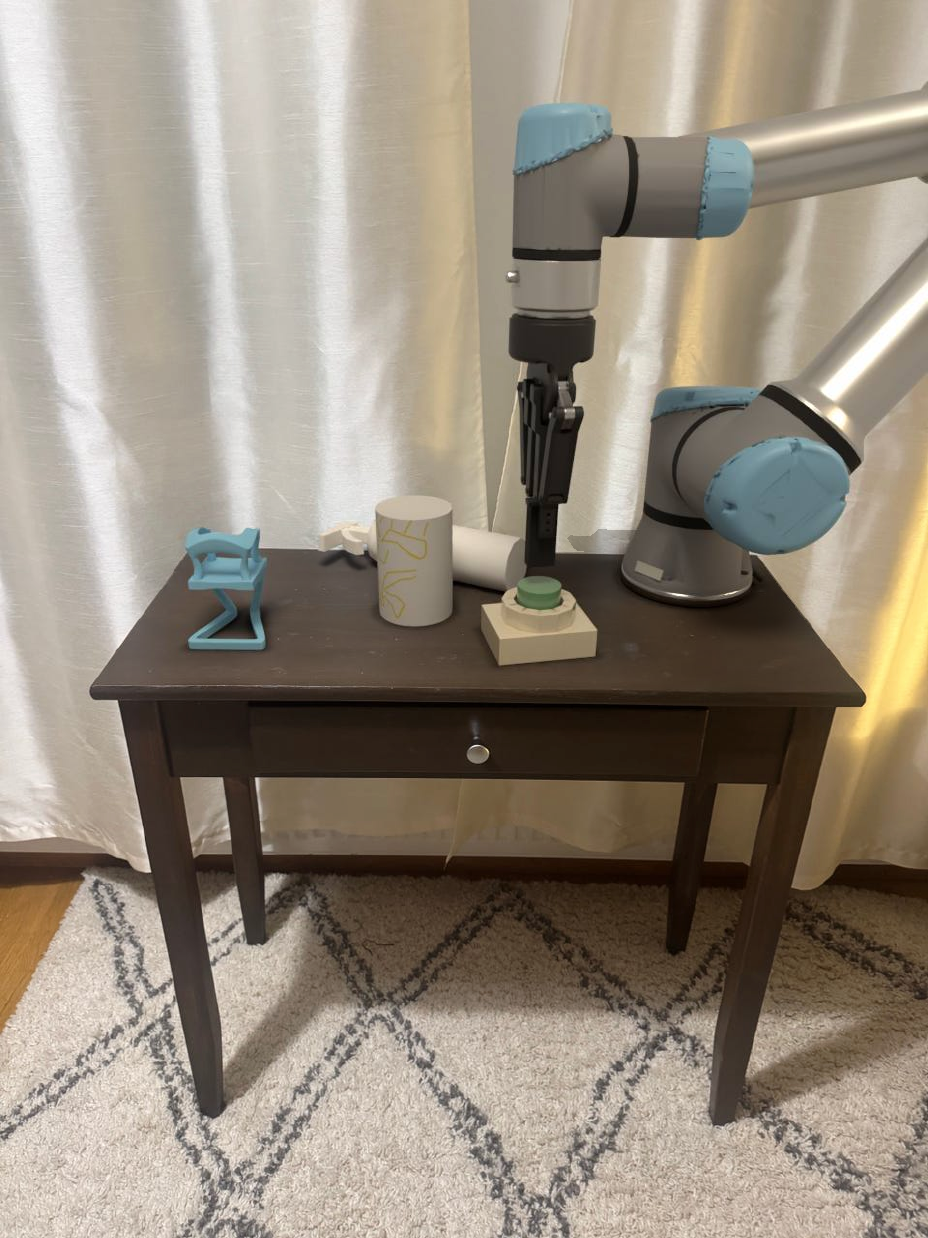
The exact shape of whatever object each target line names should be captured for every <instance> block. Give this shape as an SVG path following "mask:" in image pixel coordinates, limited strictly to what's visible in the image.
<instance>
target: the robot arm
mask: <svg viewBox="0 0 928 1238" xmlns="http://www.w3.org/2000/svg"><path fill="white" fill-rule="evenodd" d="M611 114H612V113H611V112H610V110H609V109H608V108H607V107H606V106H604V105H601V104H595V103H594V104H593V103H592V104H589V103H581V102H555V103H554V102H553V103H543V104H541V103H540V104H535V105H532V106H530V107H528V108H526V109H525V110H524V111H523V112H522V114H521V115H520V117H519V119H518V123H517V132H516V140H515V141H516V143H515V154H514V164H513V165H514V166H513V168H512V176H513V201H512V203H513V205H512V243H511V244H512V246H511V248H512V250H511V270H507V271H506V272H505V274H504V278H505V282H506V283H509V284H510V306H511V307H513V308H514V309H515V310H517V311H516V312H514V313H512V314H511V317H509V321H508V349H507V350H508V351H507V352H508V356H509V357H510V358H511V359H513V360H515V361H516V362H517V361H518V362H521V363H526V364H527V367H526V376H525V377H526V378H523V379H522V381H518V382H517V385H516V391H517V398H518V407H519V409H518V410H519V446H520V447H519V450H520V451H519V453H520V454H519V455H520V457H519V458H520V478H519V479H520V484H521V485H522V486H525V489H524V493H525V496H526V497H525V505H526V514H525V515H526V517H525V536H524V537H525V538H524V541H525V558H524V563H525V564H526V565H527V568H528V569H532V568H533V569H535V568H545V567H546V568H547V567H548V568H549V567H556V554H557V538H558V537H557V536H558V523H559V522H558V520H559V507H560V506H559V505H565V504H567V503H568V501H569V494H570V488H571V483H572V476H573V471H574V463H575V457H576V451H577V444H578V437H579V432H580V428H581V426H582V423H583V420H584V416H585V410H584V407H583V406H582V405H575V406H574V404H575V403H576V399H577V385H576V383H575V381H574V370H573V369H574V367H575V366H576V365H577V364H580V363H581V364H583V363H587V362H588V361H591V359H592V358H593V356H594V354H595V353H594V352H595V351H594V350H595V339H596V325H597V320H596V319H595V317H594V315H592V314H591V311H594V310H595V309H596V308H598V306H599V295H600V283H601V268H602V244H603V240H604V239H603V238H608V237H609V238H647V239H648V238H650V239H696V241H702V240H703V239H712V238H713V239H714V238H716V239H717V238H726V237H729V236H731V235H733V234H734V233H735V232H737V230H738V229H739V228H740V227H741V225H742V224H743V222H744V220H745V219H746V216H747V214H748V212H749V210H752V209H756V208H761V207H762V208H763V207H766V206H773V205H778V204H783V203H787V202H793V201H798V200H803V199H809V198H813V197H819V196H824V195H828V194H834V193H838V192H839V193H841V192H844V191H849V190H850V191H851V190H855V189H860V188H861V189H862V188H865V187H870V186H876V185H880V184H881V185H882V184H886V183H891V182H896V181H901V180H902V181H903V180H906V179H907V180H908V179H911V178H917V180H919V181H921V182H922V183H924V184H926V185H928V80H927V81H926V82H925V83H924V84H923V85H922V87H921V88H920V89H917V90H916V89H915V90H912V91H906V92H900V93H896V94H891V95H885V96H880V97H876V98H875V97H874V98H870V99H866V100H860V101H855V102H854V101H853V102H849V103H844V104H840V105H834V106H829V107H823V108H819V109H818V108H817V109H814V110H813V109H812V110H809V111H803V112H798V113H792V114H787V115H782V116H777V117H771V118H767V119H762V120H756V121H751V122H746V123H740V124H736V125H730V126H725V127H719V128H716V129H710V130H703V131H699V132H693V133H689V134H684V135H679V136H628V135H621V134H617V133H613V130H614V128H613V127H612V115H611ZM926 375H928V236H926V238H925V239H924V240H923V241H922V242H921V243H920V244H918V246H917V247H916V248H915V249H914V250H913V252H911V254H910V255H909V256H907V258H906V259H905V260H904V261H903V262H902V263H901V264H900V265H899V266H898V268H897V269H896V270H895V271H894V272H892V274H891V275H890V276H889V277H888V278H887V279H886V281H885V282H884V283H883V284H882V285H881V286H880V287H879V288H878V289H877V290H876V291H875V292H874V293H873V294H872V295H871V297H870V298H869V299H868V300H867V301H866V302H865V303H864V304H863V305H862V306H861V307H860V308H859V309H858V311H856V313H855V314H854V315H853V316H852V317H851V318H850V319H849V320H848V321H847V322H846V324H844V326H843V327H842V328H841V329H840V330H839V331H838V332H837V333H836V334H835V335H834V337H832V339H831V340H830V341H829V342H828V343H827V344H826V345H825V346H824V347H823V348H822V349H821V350H820V351H819V352H818V353H817V354H816V356H815V357H813V359H812V360H811V361H810V362H809V363H808V364H807V365H806V366H805V367H804V368H803V369H802V370H801V372H800V373H799V374H798V375H797V376H795V377H794V378H792V379H788V380H787V379H785V380H775V381H771V382H769V383H768V384H767V385H766V386H765V387H764V388H763V389H760V388H757V387H749V386H732V385H685V386H673V387H667V388H663V389H662V390H660V391H659V392H658V393H657V395H656V396H655V400H654V405H653V410H652V415H651V416H650V418H649V419H650V420H649V421H650V422H649V423H650V432H649V442H648V443H649V445H648V454H647V463H646V475H645V483H644V484H645V486H644V494H643V495H644V497H643V505H642V514H641V518H640V519H639V522H638V525H637V527H636V529H635V531H634V533H633V535H632V538H631V540H630V542H629V544H628V546H627V548H626V551H625V553H624V556H623V558H622V562H621V571H620V578H621V580H622V582H623V584H624V585H625V586H626V587H627V588H629V589H630V590H632V591H633V592H634V593H637V594H639V595H641V596H643V597H645V598H648V599H651V600H654V601H657V602H661V603H665V604H669V605H676V606H684V607H699V608H700V607H703V608H704V607H705V608H706V607H719V606H725V605H729V604H732V603H736V602H739V601H740V600H743V599H745V598H746V597H747V596H748V595H749V594H750V592H751V589H752V585H753V578H754V579H755V580H756V581H758V583H762V582H763V581H764V580H765V578H766V576H765V575H764V574H763V573H762V572H761V571H759V570H758V569H757V568H756V567H755V566H754V565H753V564H752V560H751V555H750V554H751V553H753V554H757V555H763V556H774V555H787V554H790V553H794V552H798V551H800V550H802V549H805V548H806V547H808V546H811V545H812V544H814V543H816V542H817V541H819V540H821V538H823V537H824V536H825V535H826V534H827V533H829V531H831V529H832V528H833V527H834V526H835V525H836V524H837V522H838V521H839V520H840V518H841V517H842V515H843V513H844V510H845V509H846V507H847V501H846V497H847V495H848V494H850V490H851V489H850V488H851V482H850V476H851V475H852V474H853V473H854V472H855V471H856V470H857V469H858V468H859V467H860V466H861V465H862V463H864V460H865V439H866V437H867V436H868V435H869V434H870V433H871V431H873V430H874V428H875V427H876V426H877V425H878V424H879V423H881V422H882V420H883V419H884V418H886V416H888V414H889V413H890V412H891V411H892V410H893V409H894V408H896V406H897V405H898V404H899V403H900V402H901V401H902V400H903V399H904V398H905V397H906V396H907V395H908V394H909V393H910V392H911V391H912V390H913V389H914V388H915V387H916V386H917V385H918V384H919V383H920V381H922V380H923V379H924V378H925V376H926Z"/></svg>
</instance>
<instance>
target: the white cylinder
mask: <svg viewBox="0 0 928 1238" xmlns="http://www.w3.org/2000/svg"><path fill="white" fill-rule="evenodd" d="M374 514H375V519H376V539H377V561H376V562H377V563H376V564H377V583H378V608H379V609H378V610H379V615H380V616H381V618H382V619H383V620H385V621H387V622H389V623H392V624H394V625H398V626H403V627H425V626H432V625H435V624H439V623H442V622H445V620H447V619H449V618H450V617H451V615H452V614H453V602H454V601H453V595H454V594H453V589H454V588H453V587H454V586H453V525H454V524H453V520H454V519H453V504H452V503H451V502H450V501H448V500H446V499H443V498H441V497H437V496H431V495H422V494H421V495H419V494H417V495H416V494H413V495H412V494H411V495H399V496H394V497H389V498H386V499H383V500H381V501H380V502H378V503H377V504H376V505H375V507H374Z"/></svg>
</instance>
